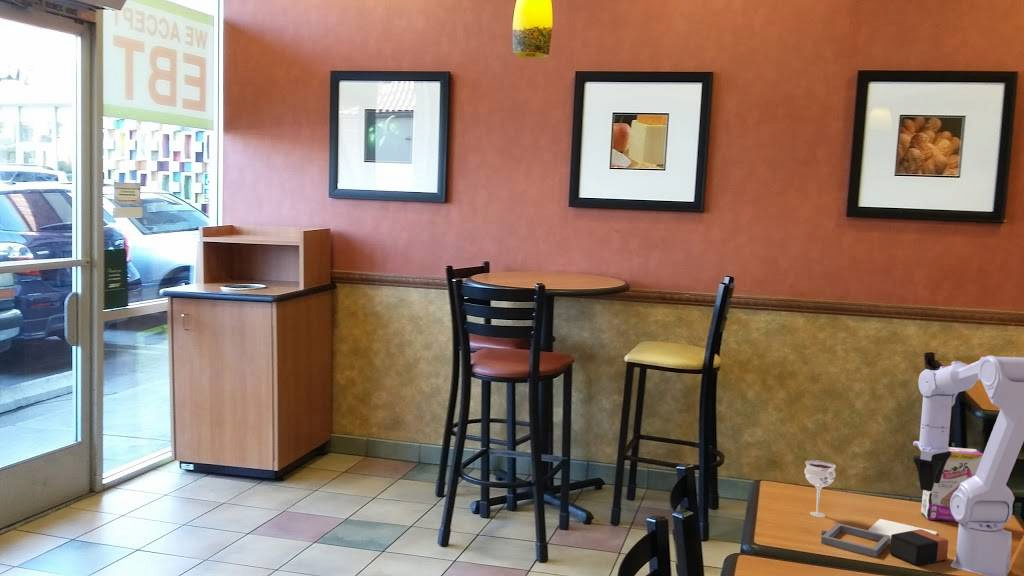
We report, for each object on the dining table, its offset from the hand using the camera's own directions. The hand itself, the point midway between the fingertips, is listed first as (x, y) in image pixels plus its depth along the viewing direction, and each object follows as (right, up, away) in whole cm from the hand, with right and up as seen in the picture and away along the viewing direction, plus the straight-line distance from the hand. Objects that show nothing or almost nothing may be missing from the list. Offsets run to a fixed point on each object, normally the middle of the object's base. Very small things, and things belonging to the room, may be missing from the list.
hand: (930, 486), depth 193 cm
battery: (-13, -9, -17) cm, 23 cm away
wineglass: (-22, -9, +9) cm, 25 cm away
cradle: (-19, -10, -8) cm, 23 cm away
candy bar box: (+10, -10, +11) cm, 18 cm away
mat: (-7, -10, -1) cm, 12 cm away
